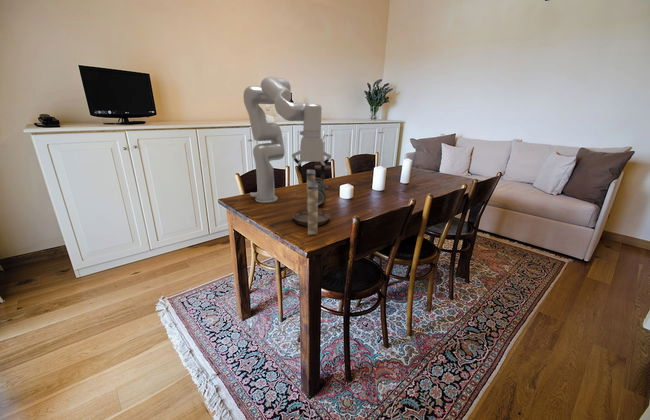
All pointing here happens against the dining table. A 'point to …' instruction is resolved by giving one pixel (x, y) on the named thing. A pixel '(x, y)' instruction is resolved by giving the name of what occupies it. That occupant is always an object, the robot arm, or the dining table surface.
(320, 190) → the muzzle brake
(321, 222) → the plant saucer
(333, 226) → the dining table surface
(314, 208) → the post front
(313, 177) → the post back
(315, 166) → the candlestick
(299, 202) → the dining table surface
